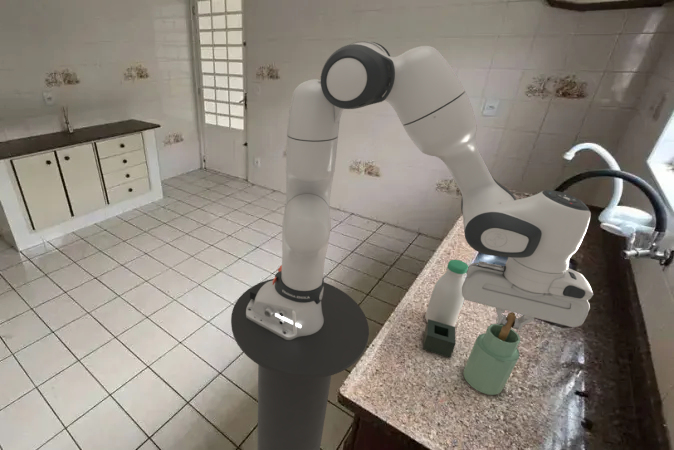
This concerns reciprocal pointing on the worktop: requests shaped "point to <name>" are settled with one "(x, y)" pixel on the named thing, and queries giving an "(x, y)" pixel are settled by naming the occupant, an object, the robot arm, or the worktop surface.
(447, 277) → the milk bottle
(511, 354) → the green jar
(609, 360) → the worktop surface
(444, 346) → the spoon holder
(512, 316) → the wooden stick
